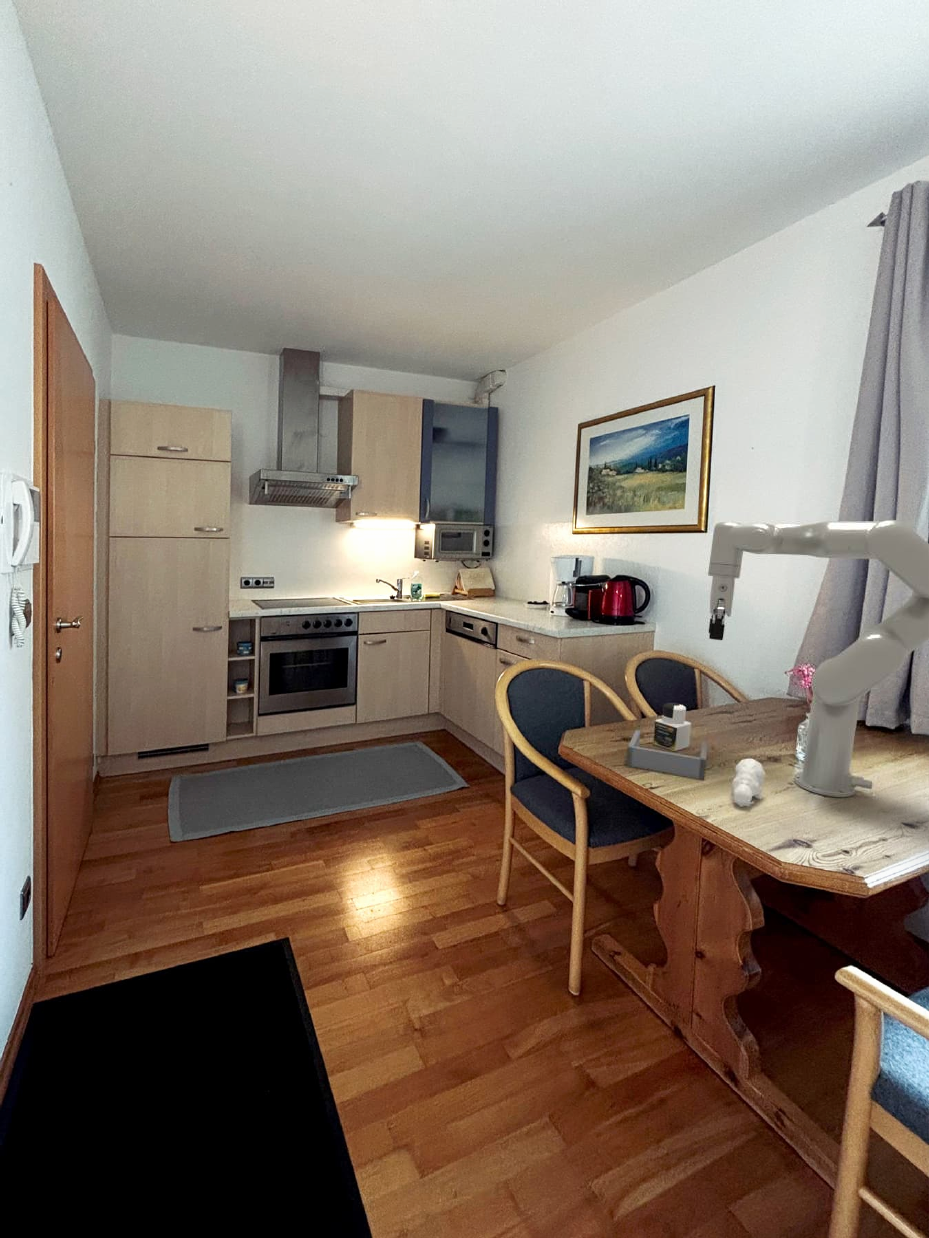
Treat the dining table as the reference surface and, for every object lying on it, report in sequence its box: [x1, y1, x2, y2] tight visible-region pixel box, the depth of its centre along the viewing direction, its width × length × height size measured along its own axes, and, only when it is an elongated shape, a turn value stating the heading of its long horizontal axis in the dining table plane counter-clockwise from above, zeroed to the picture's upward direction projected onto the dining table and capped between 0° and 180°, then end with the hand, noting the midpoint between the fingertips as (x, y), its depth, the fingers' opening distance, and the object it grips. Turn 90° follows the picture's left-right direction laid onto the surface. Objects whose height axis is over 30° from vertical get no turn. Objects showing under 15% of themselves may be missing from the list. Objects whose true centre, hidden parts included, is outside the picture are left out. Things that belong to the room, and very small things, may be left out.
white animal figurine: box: [730, 758, 766, 808], centre depth 135 cm, size 6×8×12 cm
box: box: [626, 729, 708, 781], centre depth 157 cm, size 18×15×5 cm
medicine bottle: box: [652, 702, 692, 752], centre depth 169 cm, size 7×7×12 cm
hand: (715, 636), depth 157 cm, fingers open, 9 cm apart
